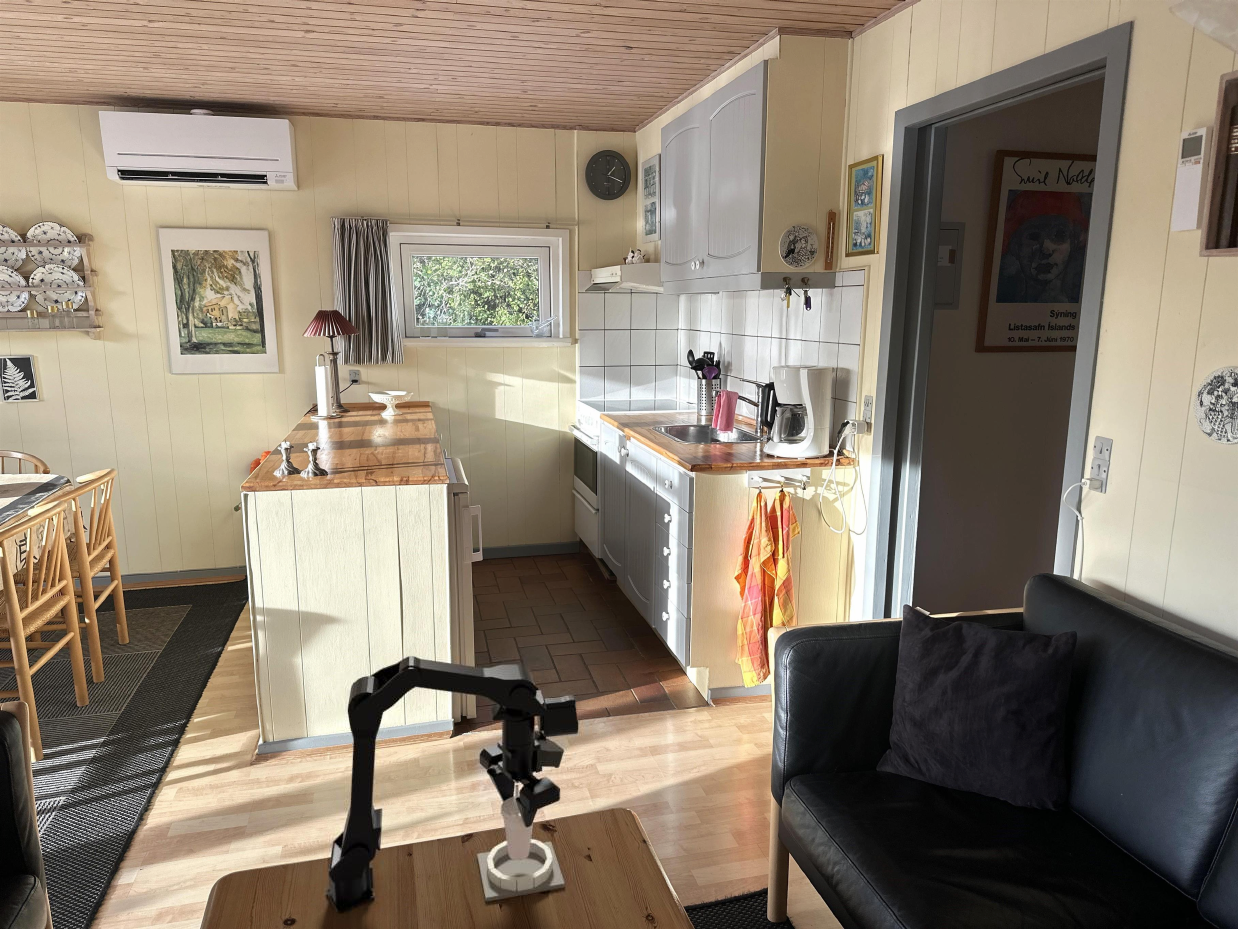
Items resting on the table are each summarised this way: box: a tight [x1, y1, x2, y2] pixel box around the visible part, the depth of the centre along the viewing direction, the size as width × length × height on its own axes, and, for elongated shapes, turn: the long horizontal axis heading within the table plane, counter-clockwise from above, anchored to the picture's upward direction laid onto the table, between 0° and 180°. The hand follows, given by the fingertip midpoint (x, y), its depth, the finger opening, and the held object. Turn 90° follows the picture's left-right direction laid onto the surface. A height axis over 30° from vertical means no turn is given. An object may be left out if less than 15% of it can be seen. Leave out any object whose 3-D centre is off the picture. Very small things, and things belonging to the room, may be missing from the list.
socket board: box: [476, 838, 566, 902], centre depth 156 cm, size 14×12×3 cm
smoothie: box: [500, 784, 535, 860], centre depth 154 cm, size 6×6×14 cm
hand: (518, 816), depth 154 cm, fingers closed on smoothie, 6 cm apart
